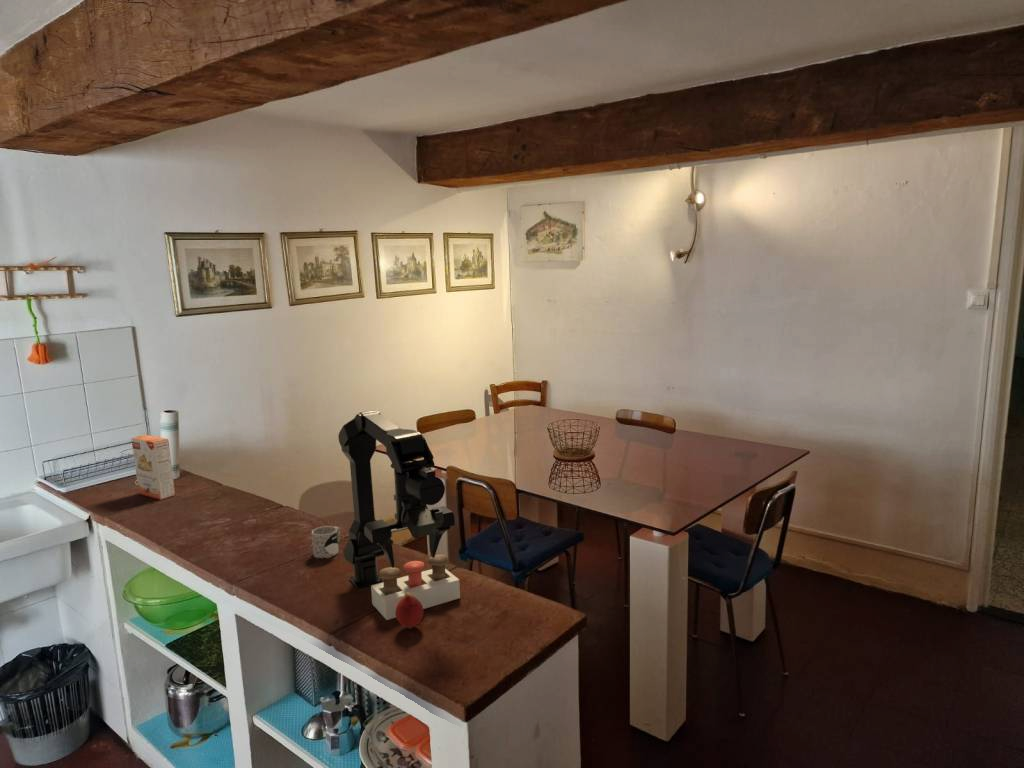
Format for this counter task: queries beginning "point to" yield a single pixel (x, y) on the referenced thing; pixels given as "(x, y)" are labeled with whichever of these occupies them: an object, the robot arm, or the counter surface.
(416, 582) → the red plunger
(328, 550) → the mug
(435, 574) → the walnut plunger far
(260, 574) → the counter surface
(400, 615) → the onion
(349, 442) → the robot arm
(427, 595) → the jig
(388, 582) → the walnut plunger near
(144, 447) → the cracker box
